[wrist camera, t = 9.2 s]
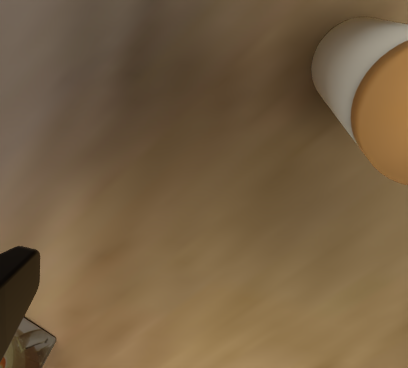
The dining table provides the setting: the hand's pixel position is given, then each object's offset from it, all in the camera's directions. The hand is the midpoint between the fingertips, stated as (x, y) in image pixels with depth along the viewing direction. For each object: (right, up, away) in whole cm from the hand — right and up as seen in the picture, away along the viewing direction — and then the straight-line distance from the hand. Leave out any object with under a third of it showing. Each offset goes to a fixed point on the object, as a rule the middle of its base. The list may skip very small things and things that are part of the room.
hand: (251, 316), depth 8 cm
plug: (+6, +8, +9) cm, 14 cm away
